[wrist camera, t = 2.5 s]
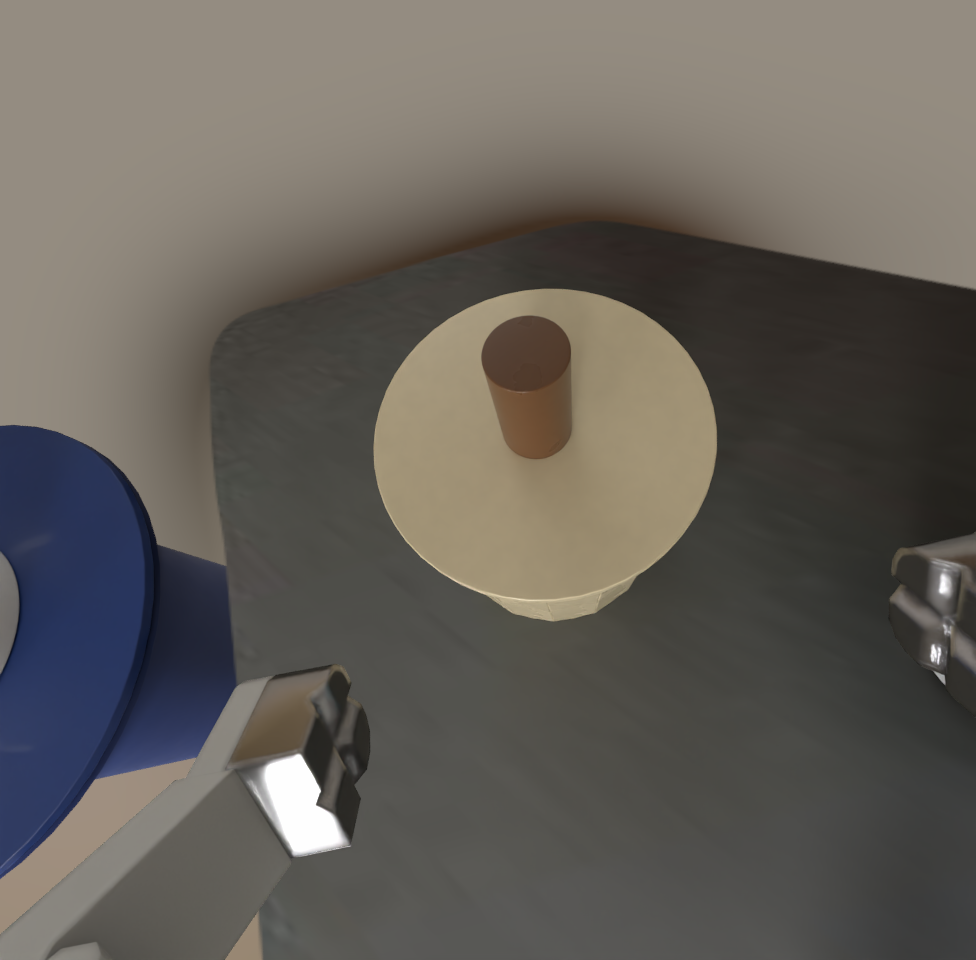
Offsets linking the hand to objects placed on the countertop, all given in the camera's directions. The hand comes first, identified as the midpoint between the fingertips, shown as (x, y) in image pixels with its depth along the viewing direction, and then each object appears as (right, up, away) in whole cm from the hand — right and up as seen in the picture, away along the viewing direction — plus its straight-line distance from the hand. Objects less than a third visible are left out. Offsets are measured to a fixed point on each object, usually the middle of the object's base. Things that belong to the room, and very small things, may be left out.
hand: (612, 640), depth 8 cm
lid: (0, +4, +13) cm, 13 cm away
